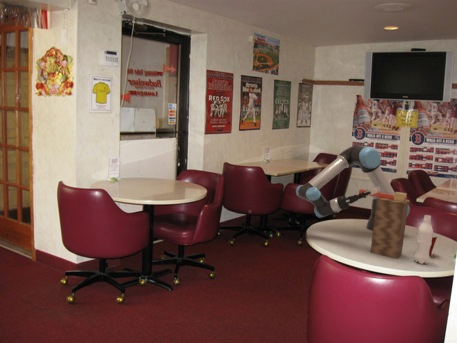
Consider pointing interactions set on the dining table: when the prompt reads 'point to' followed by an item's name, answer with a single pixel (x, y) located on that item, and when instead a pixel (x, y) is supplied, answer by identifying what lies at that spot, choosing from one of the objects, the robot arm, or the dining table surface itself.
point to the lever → (388, 195)
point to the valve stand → (389, 227)
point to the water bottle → (424, 241)
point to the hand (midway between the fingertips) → (377, 189)
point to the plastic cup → (432, 242)
